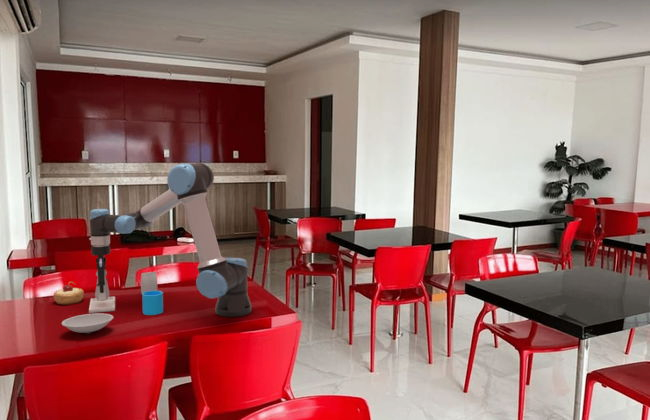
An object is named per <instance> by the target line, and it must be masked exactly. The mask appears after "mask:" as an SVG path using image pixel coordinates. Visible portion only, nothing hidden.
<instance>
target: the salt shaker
mask: <svg viewBox="0 0 650 420" xmlns="http://www.w3.org/2000/svg"><path fill="white" fill-rule="evenodd" d="M107 274H108V272H107V270H106V269H105V270H104V275H105V293H106V300H107V299H108V297H110V294H111V293H110V289H109V285H108V279H107V280H106V278H107V277H106V276H107ZM95 276H96V277H98V270H96V272H95ZM97 284H98V278H97V279H96V287H95V294H94V298H97V300H98V301H105V300H99V292H98V286H97Z"/></svg>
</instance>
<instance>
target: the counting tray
mask: <svg viewBox="0 0 650 420" xmlns="http://www.w3.org/2000/svg"><path fill="white" fill-rule="evenodd" d="M88 307H89V308H88V314H96V313H104V312H105V313H107V312H115V311H116V296H109V297H108V299H107V300H105V301H98V300H97V298H96V297H94V298H92V297H91V298H90V301H89V306H88Z"/></svg>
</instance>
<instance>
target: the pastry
mask: <svg viewBox="0 0 650 420" xmlns="http://www.w3.org/2000/svg"><path fill="white" fill-rule="evenodd" d="M70 283H72V284H74V285H76V283H74V281H69V282H68V285H67V284H65V285H64V286H63V287H62V288H61V289H58V290H56V291H54V293H53V299H54V302H56V304H58V305H61V306H62V305H63V306H64V305H65V306H66V305H75V304H78V303H80V302H82V300H83V298H84V290H83V289H82V288H79V287H73V286H72V285H70Z"/></svg>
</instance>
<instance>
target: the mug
mask: <svg viewBox="0 0 650 420" xmlns="http://www.w3.org/2000/svg"><path fill="white" fill-rule="evenodd" d="M141 295H142V300H141V301H142V313H143V315H146V316H154V315H160V314H162V313H164V292H163V291H161V290H157V291H147V292H144V293H143V294H141Z"/></svg>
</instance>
